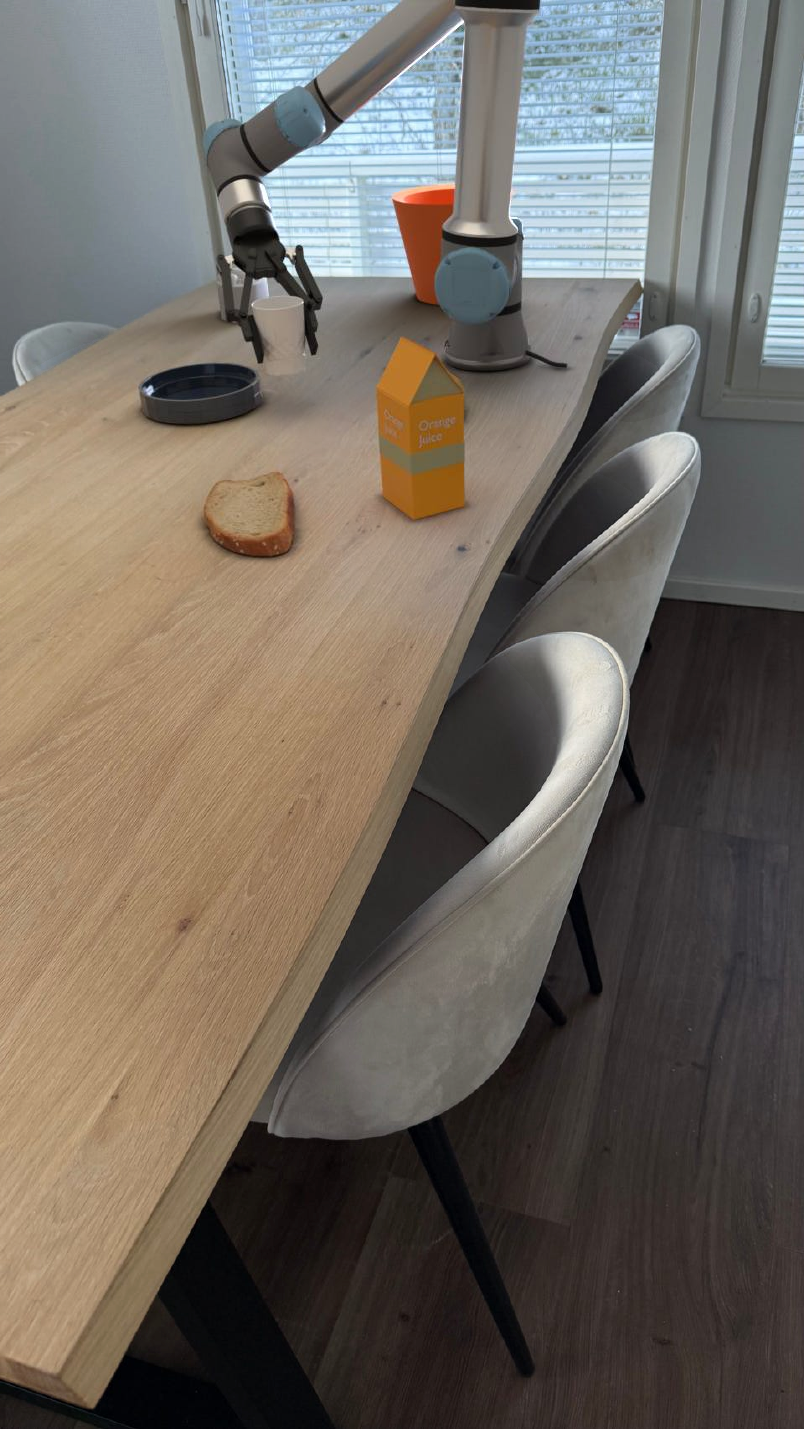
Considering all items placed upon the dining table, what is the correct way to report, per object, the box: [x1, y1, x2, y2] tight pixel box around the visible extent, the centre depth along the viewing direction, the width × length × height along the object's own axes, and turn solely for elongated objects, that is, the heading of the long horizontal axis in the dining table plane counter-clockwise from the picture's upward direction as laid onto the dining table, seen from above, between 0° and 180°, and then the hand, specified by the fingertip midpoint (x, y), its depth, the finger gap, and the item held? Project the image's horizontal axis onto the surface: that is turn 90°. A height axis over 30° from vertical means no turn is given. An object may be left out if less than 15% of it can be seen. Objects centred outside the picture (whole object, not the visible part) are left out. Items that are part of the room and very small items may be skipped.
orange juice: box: [375, 335, 466, 521], centre depth 124 cm, size 8×9×20 cm
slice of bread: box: [203, 470, 295, 557], centre depth 127 cm, size 18×18×4 cm
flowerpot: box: [391, 183, 515, 306], centre depth 210 cm, size 25×25×20 cm
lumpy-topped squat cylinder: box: [215, 267, 270, 324], centre depth 208 cm, size 10×13×9 cm
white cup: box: [251, 295, 307, 377], centre depth 153 cm, size 8×8×10 cm
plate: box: [137, 362, 264, 425], centre depth 164 cm, size 20×20×4 cm
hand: (288, 354), depth 151 cm, fingers closed on white cup, 8 cm apart
